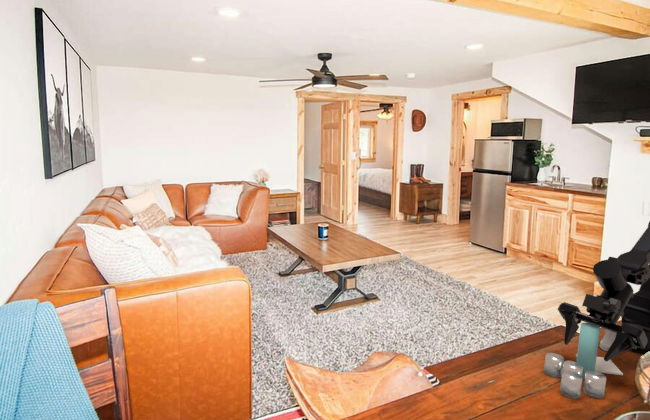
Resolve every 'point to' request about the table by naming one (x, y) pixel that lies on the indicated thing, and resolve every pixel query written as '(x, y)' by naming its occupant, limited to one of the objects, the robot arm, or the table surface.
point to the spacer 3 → (594, 384)
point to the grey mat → (606, 366)
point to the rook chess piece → (607, 340)
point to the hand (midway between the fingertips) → (584, 351)
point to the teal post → (588, 346)
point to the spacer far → (571, 384)
